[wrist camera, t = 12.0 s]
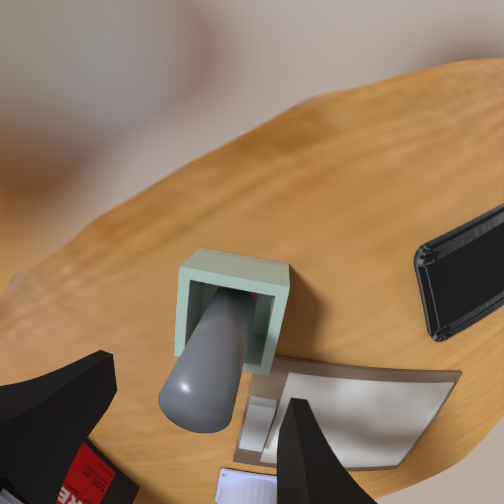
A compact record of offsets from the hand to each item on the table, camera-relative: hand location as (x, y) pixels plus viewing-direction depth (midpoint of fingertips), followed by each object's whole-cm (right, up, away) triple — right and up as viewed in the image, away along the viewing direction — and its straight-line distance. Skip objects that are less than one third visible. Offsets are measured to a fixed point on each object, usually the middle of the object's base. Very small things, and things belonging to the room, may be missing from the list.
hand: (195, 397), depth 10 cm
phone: (+21, +5, +7) cm, 23 cm away
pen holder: (+1, +3, +9) cm, 9 cm away
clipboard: (+10, -10, +11) cm, 18 cm away
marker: (+1, +3, +8) cm, 9 cm away
